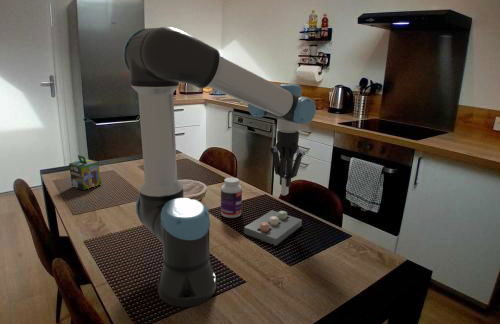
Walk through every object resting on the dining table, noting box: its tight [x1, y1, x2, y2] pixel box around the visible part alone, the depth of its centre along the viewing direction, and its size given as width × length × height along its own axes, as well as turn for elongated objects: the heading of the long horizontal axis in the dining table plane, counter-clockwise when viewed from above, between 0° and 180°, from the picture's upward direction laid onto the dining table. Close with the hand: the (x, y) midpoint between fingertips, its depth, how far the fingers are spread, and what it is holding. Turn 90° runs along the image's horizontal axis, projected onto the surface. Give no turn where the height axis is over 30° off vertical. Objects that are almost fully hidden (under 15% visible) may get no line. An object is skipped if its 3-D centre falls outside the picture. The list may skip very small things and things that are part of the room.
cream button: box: [269, 216, 279, 227], centre depth 123 cm, size 3×3×3 cm
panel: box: [243, 209, 303, 246], centre depth 124 cm, size 18×13×2 cm
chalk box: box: [68, 154, 102, 191], centre depth 157 cm, size 9×9×15 cm
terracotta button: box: [260, 222, 270, 233], centre depth 119 cm, size 3×3×3 cm
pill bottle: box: [220, 177, 243, 219], centre depth 133 cm, size 8×8×14 cm
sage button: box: [277, 210, 288, 221], centre depth 128 cm, size 3×3×3 cm
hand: (284, 194), depth 126 cm, fingers closed
